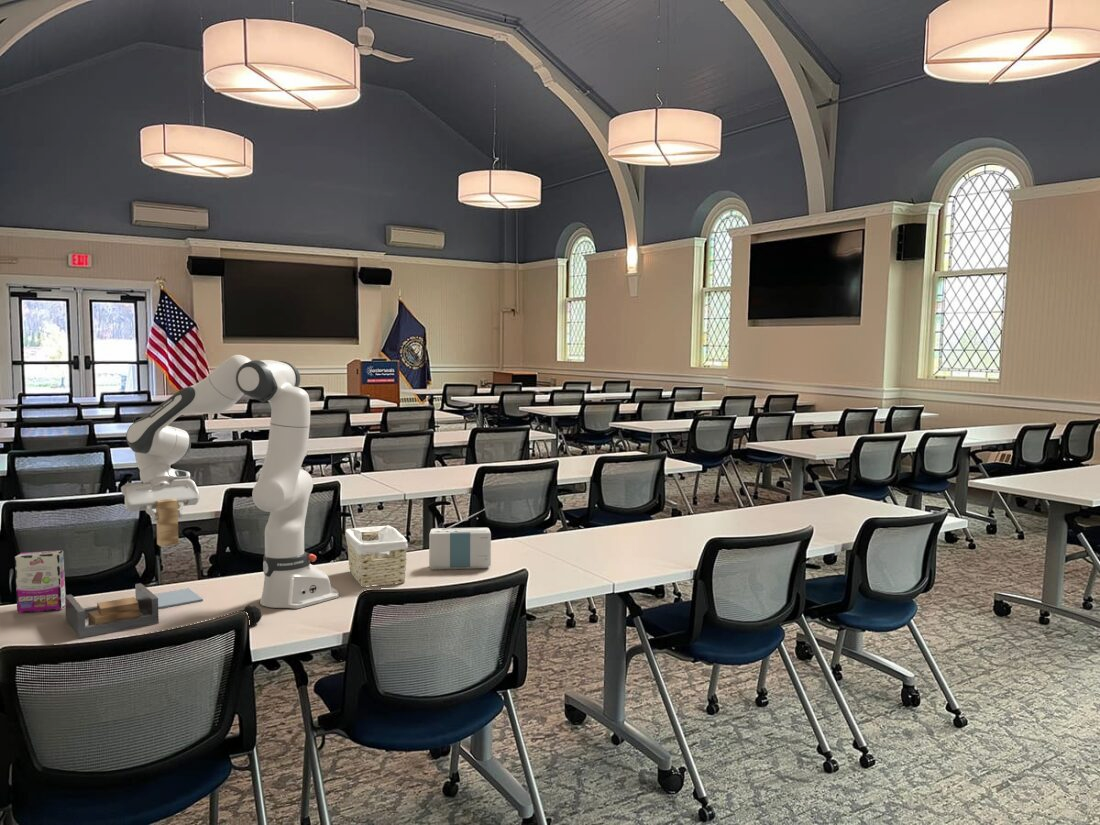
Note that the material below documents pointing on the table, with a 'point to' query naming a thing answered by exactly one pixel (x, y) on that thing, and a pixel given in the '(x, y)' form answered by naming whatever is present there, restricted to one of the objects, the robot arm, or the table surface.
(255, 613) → the microphone
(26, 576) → the candy bar box
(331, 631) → the table surface
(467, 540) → the stereo radio cassette player
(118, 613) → the offcut stack
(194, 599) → the slate mat
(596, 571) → the table surface
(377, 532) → the storage basket
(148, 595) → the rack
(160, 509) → the tan wooden block
